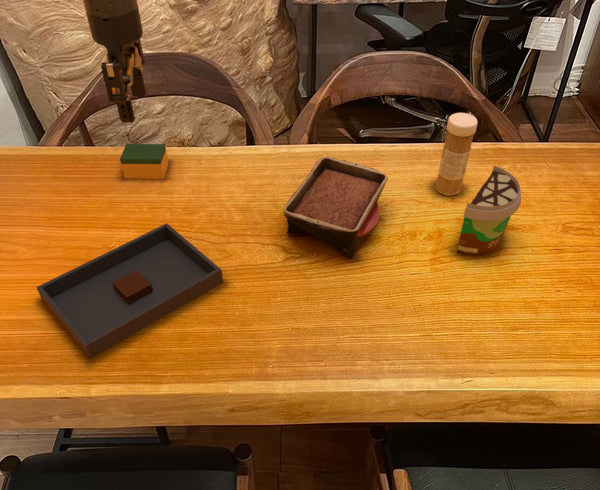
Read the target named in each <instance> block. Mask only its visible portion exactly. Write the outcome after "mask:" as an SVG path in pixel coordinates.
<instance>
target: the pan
mask: <svg viewBox="0 0 600 490" xmlns="http://www.w3.org/2000/svg"><path fill="white" fill-rule="evenodd" d="M136 270H137V271H138V272H139V273H140V274H141V275H142V276H143V277H144V278H146V279H147V280H148V281H149V282H150V283H151V285H152V289H153V292H151V293H149V294H148V295H146V296H144V297H142V298H140V299H138V300H137V301H135V302H133V303H131V304H129V305H128V303H127V302H126V301H125V300H124V299H123V298H122V297H121V296H120V295H119V294H118V293H117V292H116V291H115V290H114V287H113V284H112V282H114V281H116V280H118V279H120V278H122V277H124V276H126V275H128V274H130V273H132V272H134V271H136ZM223 283H224V277H223V272H222V269H221V268H220V267H219V266H218V265H217V264H216V263H214V261H212V260H211V259H210V258H208V256H206V255H205V254H204V253H203V252H202V251H201V250H199V248H197V247H196V246H195V245H193V244H192V243H191V242H190V241H188V240H187V239H186V238H185V237H184V236H183V235H181V234H180V233H179V232H178V231H176V229H174V228H173V227H172V226H171V225H170V224H169V223H168V222H166V223H164V224H162V225H160V226H158V227H156V228H154V229H152V230H150V231H147V232H146V233H144V234H141V235H140V236H138V237H135V238H134V239H132V240H129V241H128V242H127V241H126V242H125V243H124V244H121V245H119V246H118V247H115V248H113V249H110V250H109V251H107V252H104V253H103V254H101V255H98V256H97V257H95V258H93V259H91V260H89V261H86V262H85V263H83V264H80V265H79V266H77V267H74V268H72V269H71V270H69V271H67V272H64V273H61V274H60V275H58V276H55V277H54V278H52V279H50V280H47V281H46V282H44V283H41V284H40V285H37V286H35V287H36V290H37V293H38V294H39V295H38V296H39V297H40V299H41V300H42V302H43V303H44V304H45V305H46V307H47V308H48V309H49V311H51V313H52V314H53V316H54V317H55V318H56V319H57V320H58V322H59V323H60V324H61V325H62V326H63V327H64V329H65V330H66V331H67V332H68V334H69V335H70V336H71V337H72V338H73V340H74V341H75V342H76V344H78V346H79V347H80V348H81V349H82V351H83V352H84V353H85V354H86V356H87V357H88V358H89V359H93V358H95V357H97V356H98V355H100V354H102V353H103V352H105V351H107V350H108V349H110V348H112V347H114V346H115V345H118V344H119V343H121V342H123V341H124V340H126V339H128V338H129V337H131V336H133V335H135V334H136V333H138V332H140V331H141V330H144V329H146V328H147V327H148V326H151V325H152V324H154V323H156V322H158V321H159V320H160V319H162V318H164V317H166V316H168V315H169V314H171V313H173V312H174V311H176V310H178V309H179V308H181V307H183V306H185V305H186V304H188V303H190V302H192V301H193V300H195V299H197V298H199V297H201V296H202V295H204V294H206V293H207V292H209V291H211V290H213V289H214V288H216V287H218V286H220V285H221V284H223Z"/></svg>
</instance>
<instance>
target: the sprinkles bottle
mask: <svg viewBox="0 0 600 490" xmlns="http://www.w3.org/2000/svg"><path fill="white" fill-rule="evenodd" d="M478 123H479V121H478V119H477V117H475V116H474V115H472V114H471V113H467V112H455V113H453V114H451V115H449V117H448V119H447V125H446V135H445V138H444V145H443V149H442V155H441V157H440V162H439V167H438V175H437V179H436V183H435V190H436V191H437V192H438V193H439V194H441V195H443V196H448V197H452V196H456V195H458V194H460V193H461V191H462V185H463V180H464V177H465V176H466V175H465V174H466V170H467V167H468V162H469V157H470V153H471V149H472V143H473V139H474V136H475V134H476V132H477V129H478V128H477V127H478Z"/></svg>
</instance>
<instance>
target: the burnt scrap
mask: <svg viewBox="0 0 600 490" xmlns="http://www.w3.org/2000/svg"><path fill="white" fill-rule="evenodd" d="M112 284H113V287H114V290H115V291H116V292H117V293H118V294H119V295H120V296H121V297H122V298H123V299H124V300H125V301H126V302H127V303H128V305H129V304H131V303H133V302H135V301H137V300H138V299H140V298H142V297H144V296H146V295H148V294H149V293H151V292H153V289H152V285H151V283H150V282H149V281H148V280H147V279H146V278H144V277H143V276H142V275H141V274H140V273H139V272H138V271H137V270H136V271H134V272H132V273H130V274H128V275H126V276H124V277H122V278H120V279H118V280H116V281H114V282H112Z"/></svg>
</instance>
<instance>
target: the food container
mask: <svg viewBox="0 0 600 490" xmlns="http://www.w3.org/2000/svg"><path fill="white" fill-rule="evenodd" d="M521 202H522V189H521V185H520V182H519V180H518V179H517V178H516V176H514V174H512V173H511V172H509V171H508V170H506V169H504V168H501V167H500V166H498V165H493V167H492V171H491V173H490V175H489V177H488V178H487V180H486V181H485V182H484V183H483V184H482V186H481V187H480V189H479V190H478V192H477V193H476V195H475V196H474V198H473V200H471V203H470V202H467V203H466V207H465V209H464V213H463V216H462V217H463V221H462V225H461V231H460V235H459V240H458V244H457V248H456V254H460V255H463V256H468V257H481V256H482V257H483V256H486V255H489V254H492V253H493V252H495V251H496V250H497V248H498V247H499V245H500V243H501V240H502V239H503V235H504V233H505V231H506V229H507V226H508V224H509V221H510V219H511V217H512V216H513V215H514V214H515V213H517V212H518V210H519V209H520V207H521V204H522V203H521Z"/></svg>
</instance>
